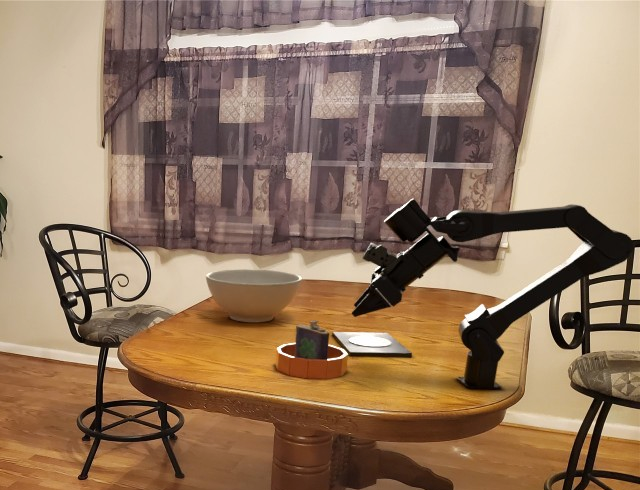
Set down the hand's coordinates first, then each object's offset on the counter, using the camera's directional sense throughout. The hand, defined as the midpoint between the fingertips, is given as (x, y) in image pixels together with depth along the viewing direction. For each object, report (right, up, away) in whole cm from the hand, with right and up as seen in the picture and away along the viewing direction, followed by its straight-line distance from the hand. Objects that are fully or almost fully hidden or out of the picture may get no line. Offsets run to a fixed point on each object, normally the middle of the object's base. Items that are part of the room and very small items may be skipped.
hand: (354, 310), depth 143 cm
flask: (-7, -12, +7) cm, 16 cm away
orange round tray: (-7, -12, +7) cm, 16 cm away
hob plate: (+12, -6, +25) cm, 29 cm away
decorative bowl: (-12, +4, +56) cm, 57 cm away
